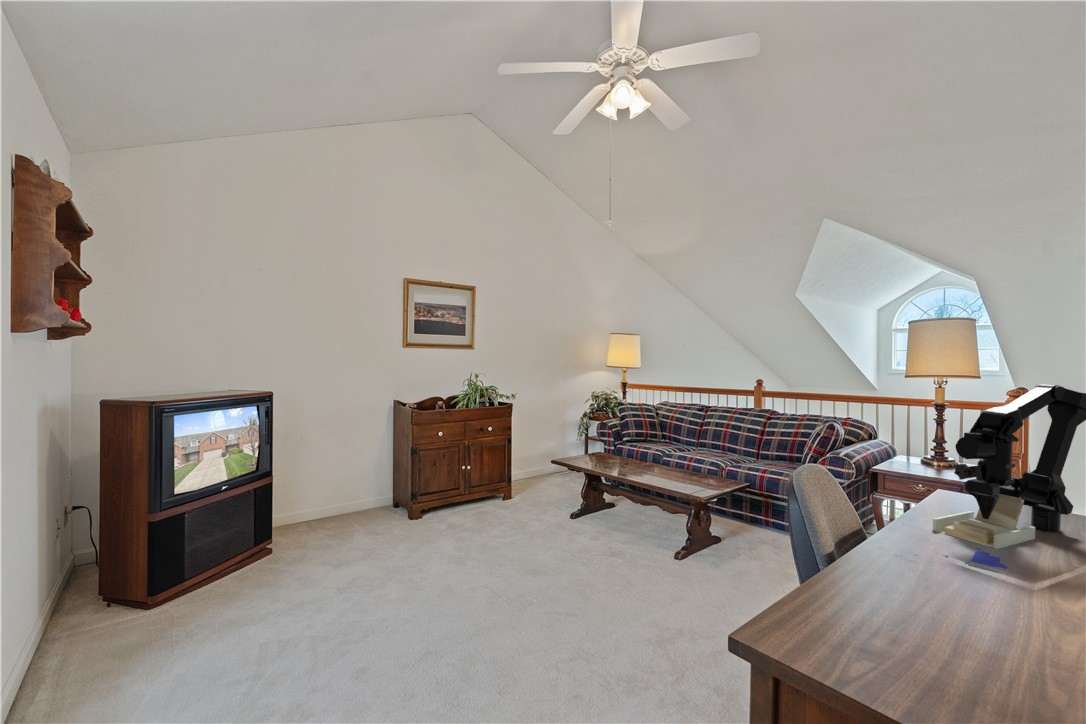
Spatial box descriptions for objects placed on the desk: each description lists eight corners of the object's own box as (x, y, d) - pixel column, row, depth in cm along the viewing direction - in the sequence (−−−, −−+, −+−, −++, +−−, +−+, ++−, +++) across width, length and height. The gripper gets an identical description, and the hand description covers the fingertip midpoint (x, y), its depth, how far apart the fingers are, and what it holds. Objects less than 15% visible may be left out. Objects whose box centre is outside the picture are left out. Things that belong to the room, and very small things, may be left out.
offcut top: (964, 525, 134) (964, 520, 134) (996, 534, 127) (997, 528, 127) (953, 528, 132) (953, 522, 132) (986, 537, 125) (986, 531, 125)
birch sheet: (976, 526, 138) (987, 492, 140) (1013, 536, 131) (1024, 500, 133) (973, 524, 138) (984, 490, 139) (1010, 534, 130) (1021, 498, 132)
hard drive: (1017, 573, 108) (1019, 557, 117) (968, 561, 114) (973, 546, 123) (1017, 580, 108) (1019, 563, 117) (967, 568, 114) (973, 553, 123)
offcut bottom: (957, 529, 135) (957, 524, 135) (999, 541, 127) (999, 535, 127) (944, 532, 133) (944, 526, 133) (986, 544, 124) (986, 538, 124)
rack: (969, 525, 142) (970, 510, 142) (1034, 542, 130) (1035, 527, 130) (932, 533, 135) (933, 518, 135) (997, 552, 122) (998, 536, 122)
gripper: (979, 450, 145) (977, 504, 146) (942, 454, 137) (940, 511, 138) (1029, 457, 135) (1027, 516, 136) (992, 463, 127) (990, 525, 128)
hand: (994, 516), depth 134 cm, fingers open, 9 cm apart
